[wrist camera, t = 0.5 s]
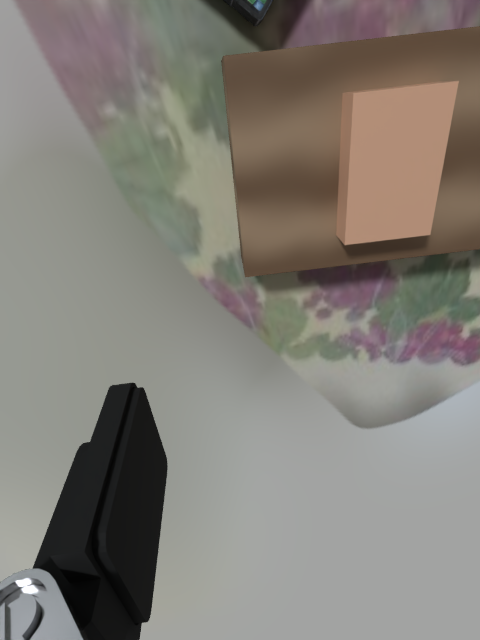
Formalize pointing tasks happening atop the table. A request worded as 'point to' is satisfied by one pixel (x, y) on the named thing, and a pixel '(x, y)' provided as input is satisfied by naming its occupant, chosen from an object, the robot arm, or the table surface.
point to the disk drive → (251, 9)
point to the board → (324, 146)
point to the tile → (392, 160)
